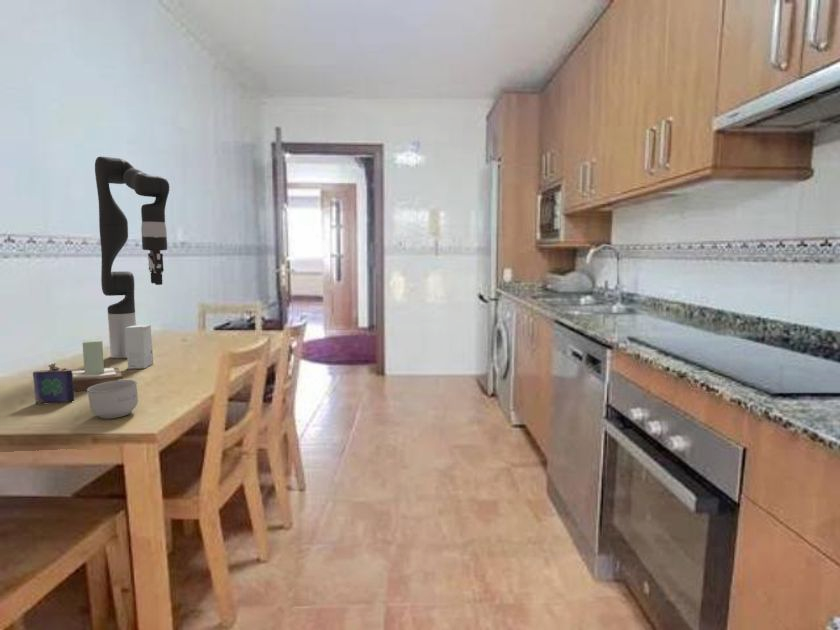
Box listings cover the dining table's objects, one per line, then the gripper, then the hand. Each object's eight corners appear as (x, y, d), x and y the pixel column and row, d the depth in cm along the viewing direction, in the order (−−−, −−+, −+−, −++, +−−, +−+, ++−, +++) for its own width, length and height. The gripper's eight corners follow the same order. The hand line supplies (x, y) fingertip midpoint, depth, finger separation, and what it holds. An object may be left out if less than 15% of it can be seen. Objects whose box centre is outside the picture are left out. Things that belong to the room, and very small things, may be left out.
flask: (33, 404, 138) (30, 365, 137) (39, 401, 141) (36, 363, 139) (71, 403, 140) (69, 364, 139) (76, 400, 143) (74, 362, 141)
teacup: (126, 421, 125) (124, 389, 124) (79, 422, 124) (77, 390, 123) (151, 405, 139) (149, 376, 138) (109, 405, 138) (107, 376, 137)
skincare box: (144, 368, 181) (142, 327, 179) (126, 369, 180) (124, 327, 178) (153, 363, 189) (151, 323, 187) (136, 364, 188) (134, 324, 187)
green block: (84, 372, 160) (82, 340, 159) (103, 370, 163) (101, 338, 162) (85, 375, 156) (82, 342, 155) (104, 373, 159) (102, 341, 158)
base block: (67, 382, 161) (66, 371, 161) (118, 376, 169) (117, 365, 169) (68, 392, 150) (67, 380, 150) (123, 385, 158) (122, 374, 158)
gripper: (138, 236, 177) (141, 283, 179) (144, 235, 165) (147, 285, 167) (163, 236, 181) (165, 282, 183) (170, 235, 169) (172, 285, 171)
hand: (156, 284), depth 175 cm, fingers open, 8 cm apart
